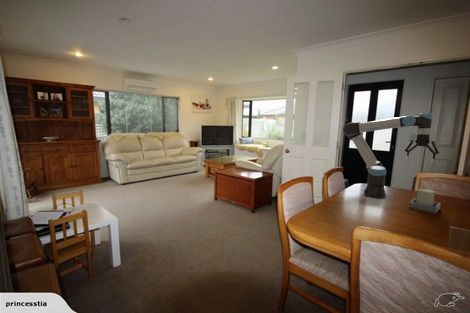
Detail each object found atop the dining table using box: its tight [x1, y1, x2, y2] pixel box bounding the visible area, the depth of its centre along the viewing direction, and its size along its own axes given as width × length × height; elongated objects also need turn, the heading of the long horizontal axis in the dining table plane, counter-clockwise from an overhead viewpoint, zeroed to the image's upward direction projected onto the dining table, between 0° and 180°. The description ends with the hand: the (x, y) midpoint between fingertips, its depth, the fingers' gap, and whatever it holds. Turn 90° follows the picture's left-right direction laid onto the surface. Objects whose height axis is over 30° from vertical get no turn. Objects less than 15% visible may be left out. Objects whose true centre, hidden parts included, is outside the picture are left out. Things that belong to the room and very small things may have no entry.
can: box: [416, 188, 436, 207], centre depth 152 cm, size 9×9×12 cm
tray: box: [408, 197, 441, 215], centre depth 152 cm, size 14×14×4 cm
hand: (419, 161), depth 171 cm, fingers open, 13 cm apart
